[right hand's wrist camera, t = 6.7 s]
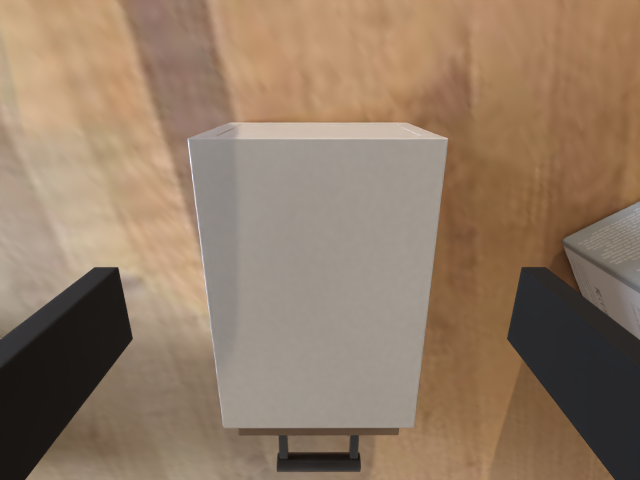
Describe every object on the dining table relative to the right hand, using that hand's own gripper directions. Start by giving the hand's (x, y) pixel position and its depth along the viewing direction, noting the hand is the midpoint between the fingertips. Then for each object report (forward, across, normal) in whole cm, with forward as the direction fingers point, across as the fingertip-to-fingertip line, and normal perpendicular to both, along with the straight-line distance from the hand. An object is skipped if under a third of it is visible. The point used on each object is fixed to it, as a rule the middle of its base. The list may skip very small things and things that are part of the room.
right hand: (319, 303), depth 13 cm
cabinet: (+14, 0, -4) cm, 15 cm away
